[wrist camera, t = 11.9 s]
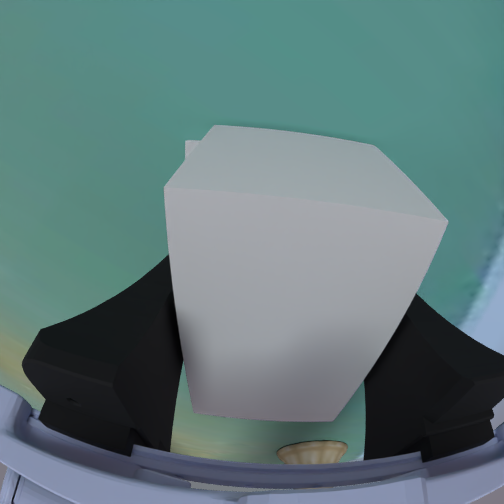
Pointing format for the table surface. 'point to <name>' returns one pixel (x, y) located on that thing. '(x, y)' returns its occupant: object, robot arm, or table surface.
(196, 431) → the table surface
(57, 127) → the table surface
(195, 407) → the off-white rectangular block
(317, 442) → the hand bell
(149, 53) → the table surface
